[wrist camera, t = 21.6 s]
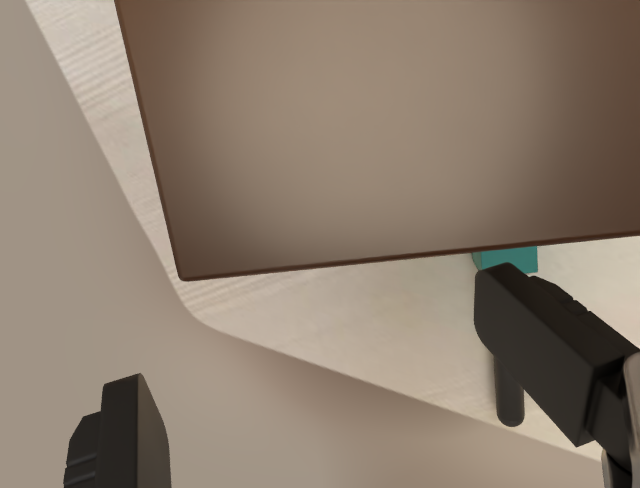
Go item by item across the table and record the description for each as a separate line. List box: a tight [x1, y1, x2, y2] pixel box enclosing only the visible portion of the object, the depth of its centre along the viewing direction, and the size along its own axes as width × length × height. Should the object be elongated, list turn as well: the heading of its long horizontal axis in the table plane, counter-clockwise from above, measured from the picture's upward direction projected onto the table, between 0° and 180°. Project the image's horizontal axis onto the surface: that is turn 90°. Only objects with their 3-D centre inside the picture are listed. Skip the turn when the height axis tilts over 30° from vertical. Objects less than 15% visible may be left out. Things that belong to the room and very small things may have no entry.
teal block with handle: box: [472, 246, 538, 427], centre depth 36 cm, size 22×4×4 cm, turn 8°
